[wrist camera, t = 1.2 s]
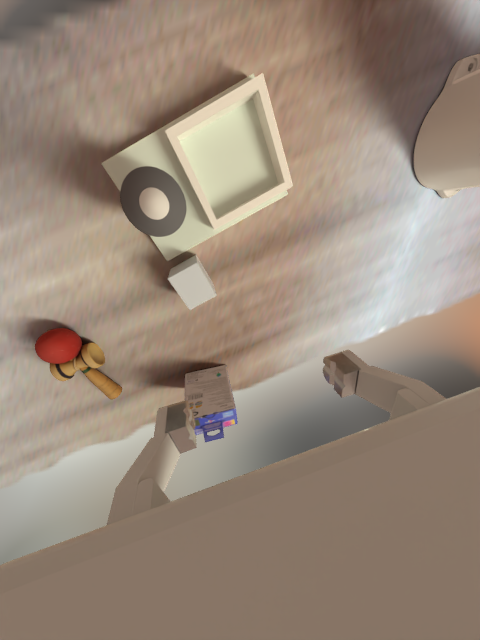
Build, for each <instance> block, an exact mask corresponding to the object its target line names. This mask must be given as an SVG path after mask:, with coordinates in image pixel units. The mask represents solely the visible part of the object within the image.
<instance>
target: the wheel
mask: <svg viewBox="0 0 480 640" xmlns="http://www.w3.org/2000/svg"><path fill="white" fill-rule="evenodd" d="M120 198H121V204H122V208H123V210H124V212H125V215H126V216H127V218H128V219H129V221H130V222H131V223H132V224H133V225H134V226H135V227H136V228H137V229H138V230H140V231H141V232H143V233H145V234H148V235H150V236H155V237H164V236H168V235H171V234H173V233H174V232H176V231H177V230H178V229H179V228H180V227H181V225H182V224H183V222H184V219H185V216H186V209H187V206H186V200H185V196H184V194H183V192H182V189H181V188H180V186H179V184H178V183H177V182H176V181H175V179H174V178H173V177H172V176H170V175H169V174H168V173H166V172H165V171H163V170H161V169H159V168H156V167H151V166H143V167H139V168H136V169H134V170H132V171H131V172H130V173H129V174H128V175H127V176H126V177H125V179H124V181H123V183H122V186H121V191H120Z"/></svg>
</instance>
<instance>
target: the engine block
mask: <svg viewBox="0 0 480 640" xmlns="http://www.w3.org/2000/svg"><path fill="white" fill-rule="evenodd" d="M168 280H169V281H170V283H171V284H172V286H173V287H174V289H175V290H176V291H177V293H178V294H179V296H180V297H181V298H182V300H183V301H184V303H185V304H186V305H187V307H188V308H189V310H191V309H193V308H195V307H196V306H198V305H200V304H202V303H204V302H206V301H208V300H209V299H211V298H213V297H215V296H217V295H216V292H215V288H214V285H213V283H212V281H211V279H210V277H209V276H208V274H207V272H206V271H205V269H204V267H203V265H202V264H201V262H200V260H199V259H198V257H197V255H194V256H193V257H191V258H189V259H187V260H185V261H184V262H182V263H180V264H178V265H176V266H175V267H173V268H171V270H170V273H169V276H168Z"/></svg>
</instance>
